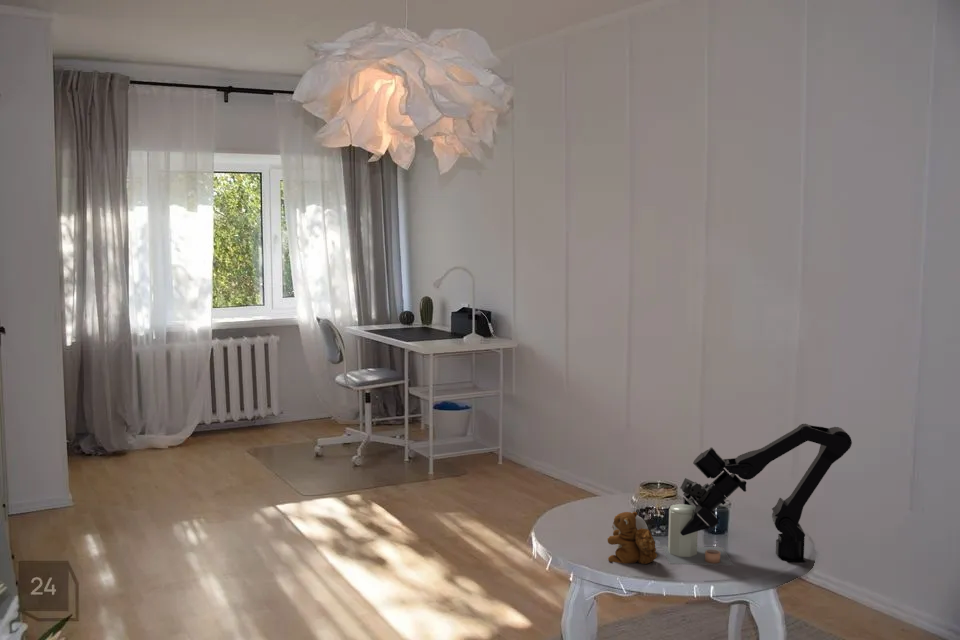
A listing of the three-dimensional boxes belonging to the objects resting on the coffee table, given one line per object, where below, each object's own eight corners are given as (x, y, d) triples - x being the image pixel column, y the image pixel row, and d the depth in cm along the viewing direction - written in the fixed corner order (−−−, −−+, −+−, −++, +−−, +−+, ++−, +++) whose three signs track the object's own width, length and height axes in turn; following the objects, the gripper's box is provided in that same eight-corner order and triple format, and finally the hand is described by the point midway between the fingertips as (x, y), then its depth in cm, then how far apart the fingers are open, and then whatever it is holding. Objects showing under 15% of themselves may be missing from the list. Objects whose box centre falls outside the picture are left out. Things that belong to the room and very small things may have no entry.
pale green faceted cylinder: (693, 547, 253) (694, 504, 252) (698, 557, 246) (699, 512, 245) (667, 547, 254) (668, 503, 253) (670, 556, 246) (671, 511, 245)
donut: (611, 547, 255) (612, 512, 254) (614, 543, 258) (615, 509, 257) (646, 552, 251) (647, 517, 250) (649, 548, 254) (649, 513, 253)
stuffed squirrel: (620, 550, 252) (621, 504, 251) (666, 562, 243) (667, 514, 242) (601, 560, 244) (602, 512, 243) (648, 572, 236) (649, 523, 234)
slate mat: (723, 549, 254) (723, 547, 254) (733, 566, 240) (733, 565, 240) (662, 547, 255) (662, 546, 255) (669, 565, 241) (669, 563, 241)
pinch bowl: (718, 558, 245) (718, 549, 245) (721, 563, 241) (721, 554, 241) (703, 558, 245) (703, 549, 245) (706, 563, 241) (706, 554, 241)
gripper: (691, 461, 257) (651, 499, 258) (707, 478, 238) (664, 519, 240) (718, 488, 258) (678, 526, 259) (736, 508, 239) (693, 548, 240)
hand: (678, 529), depth 249 cm, fingers open, 9 cm apart
